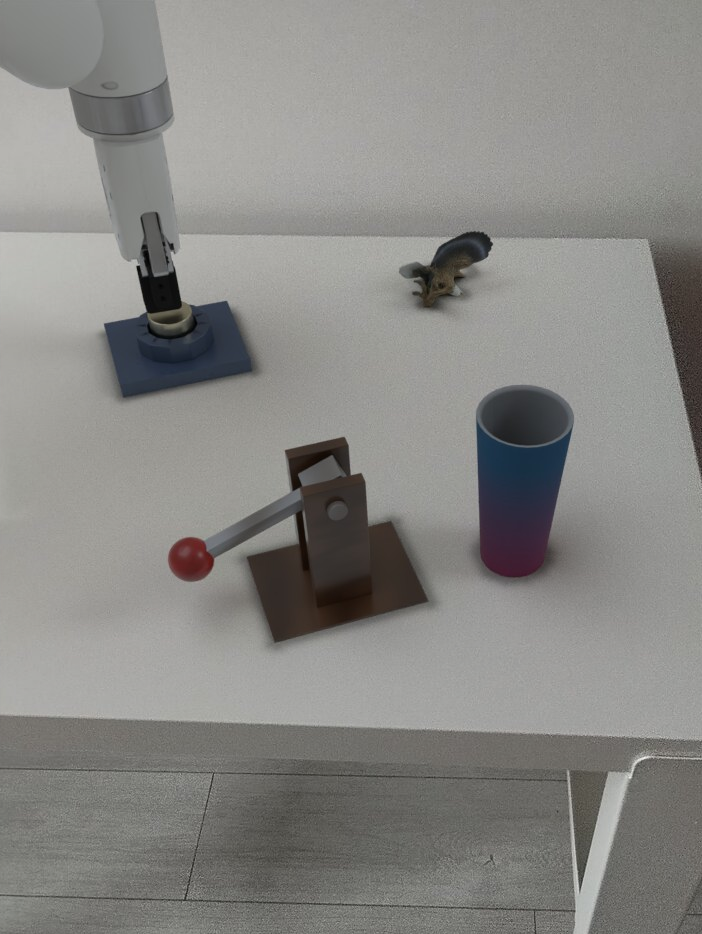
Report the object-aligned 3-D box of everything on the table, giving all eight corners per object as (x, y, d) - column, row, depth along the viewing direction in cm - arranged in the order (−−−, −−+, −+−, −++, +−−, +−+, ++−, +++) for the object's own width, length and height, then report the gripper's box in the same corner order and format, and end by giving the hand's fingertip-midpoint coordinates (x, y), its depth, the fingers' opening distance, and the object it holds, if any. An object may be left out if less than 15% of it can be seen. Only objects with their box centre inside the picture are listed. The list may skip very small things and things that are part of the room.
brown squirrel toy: (473, 319, 103) (509, 260, 107) (433, 261, 99) (472, 202, 103) (419, 333, 108) (455, 276, 112) (379, 279, 104) (417, 222, 108)
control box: (124, 404, 95) (115, 368, 92) (108, 342, 102) (98, 307, 98) (253, 377, 98) (247, 342, 95) (230, 319, 104) (224, 284, 101)
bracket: (275, 651, 77) (254, 530, 68) (248, 566, 83) (224, 443, 73) (428, 609, 80) (428, 488, 70) (391, 530, 86) (387, 407, 76)
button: (155, 344, 95) (151, 328, 94) (147, 320, 98) (143, 304, 97) (198, 335, 96) (195, 319, 95) (190, 312, 99) (186, 296, 98)
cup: (571, 562, 84) (594, 415, 72) (514, 607, 80) (528, 461, 69) (509, 519, 87) (521, 372, 75) (451, 561, 83) (455, 414, 72)
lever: (188, 597, 74) (163, 574, 72) (179, 566, 76) (155, 542, 73) (359, 503, 73) (340, 475, 71) (346, 474, 75) (327, 446, 73)
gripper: (61, 69, 85) (109, 271, 99) (85, 151, 76) (135, 361, 90) (154, 59, 87) (188, 258, 101) (189, 137, 78) (221, 345, 91)
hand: (163, 306), depth 95 cm, fingers closed
